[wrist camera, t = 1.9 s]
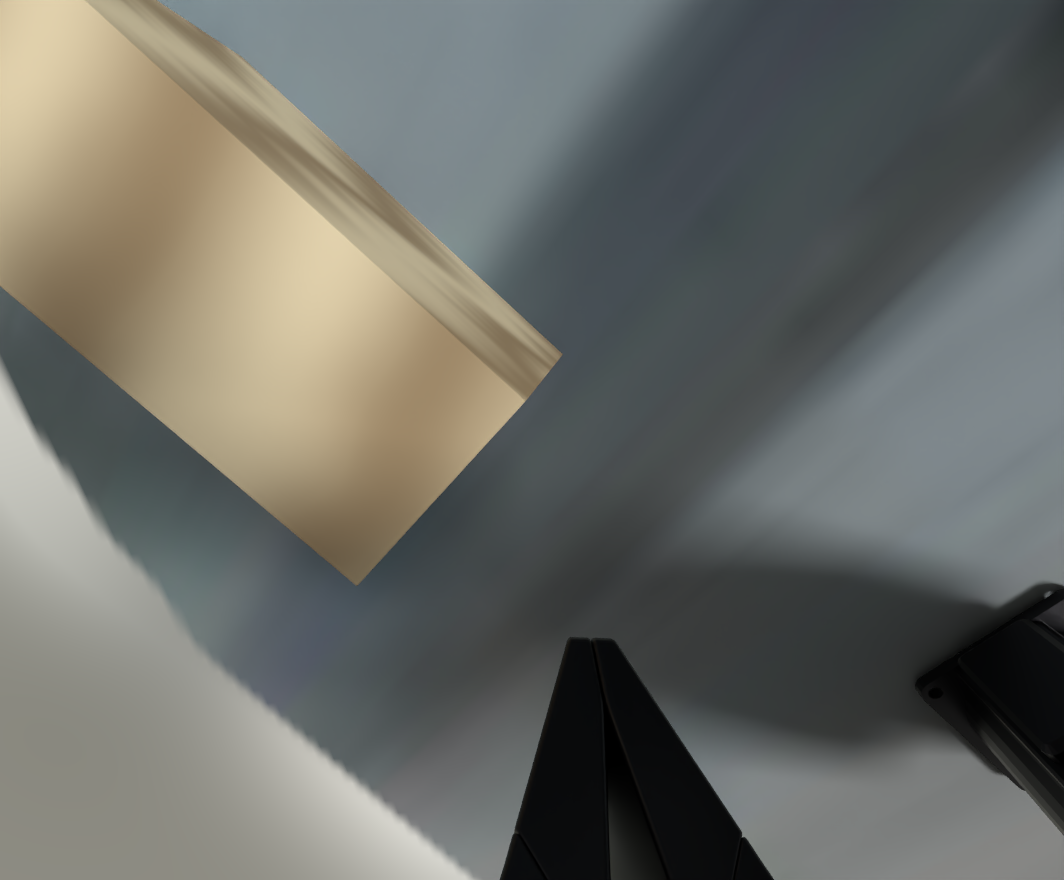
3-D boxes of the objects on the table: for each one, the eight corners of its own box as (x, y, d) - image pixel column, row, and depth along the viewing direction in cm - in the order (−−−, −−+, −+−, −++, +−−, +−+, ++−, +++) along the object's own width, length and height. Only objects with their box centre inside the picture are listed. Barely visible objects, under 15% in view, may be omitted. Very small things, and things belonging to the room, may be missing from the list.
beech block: (563, 354, 18) (525, 401, 10) (462, 464, 20) (357, 585, 12) (244, 58, 17) (-112, -179, 9) (167, 203, 19) (-193, 123, 10)
